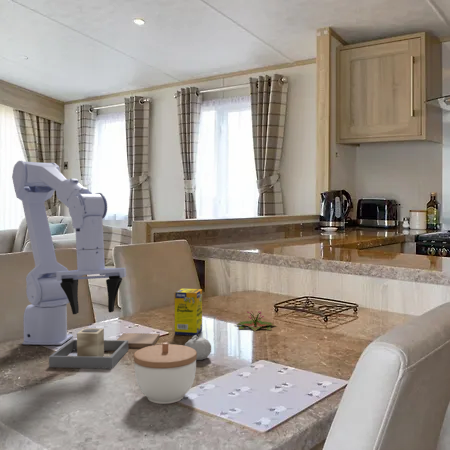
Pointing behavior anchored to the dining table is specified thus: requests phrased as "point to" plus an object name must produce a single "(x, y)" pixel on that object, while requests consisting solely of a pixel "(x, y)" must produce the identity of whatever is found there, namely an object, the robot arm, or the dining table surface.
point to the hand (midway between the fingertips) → (93, 312)
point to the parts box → (90, 342)
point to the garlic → (199, 347)
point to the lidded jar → (165, 371)
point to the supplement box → (188, 311)
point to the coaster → (139, 339)
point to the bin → (66, 361)
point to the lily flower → (255, 323)
